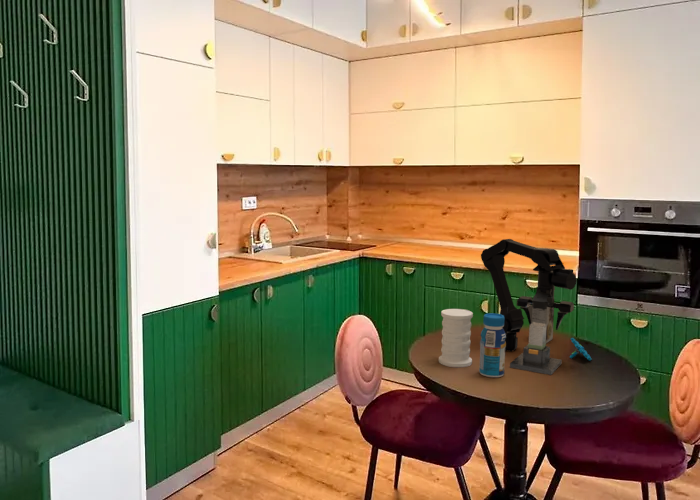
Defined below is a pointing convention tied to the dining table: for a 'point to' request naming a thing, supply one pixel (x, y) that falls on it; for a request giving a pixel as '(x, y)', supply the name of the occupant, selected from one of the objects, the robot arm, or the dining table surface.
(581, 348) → the blue angular plastic piece
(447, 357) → the decorative container
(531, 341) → the block
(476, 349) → the dining table surface
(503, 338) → the beverage bottle
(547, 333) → the coffee box
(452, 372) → the dining table surface
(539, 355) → the stand
